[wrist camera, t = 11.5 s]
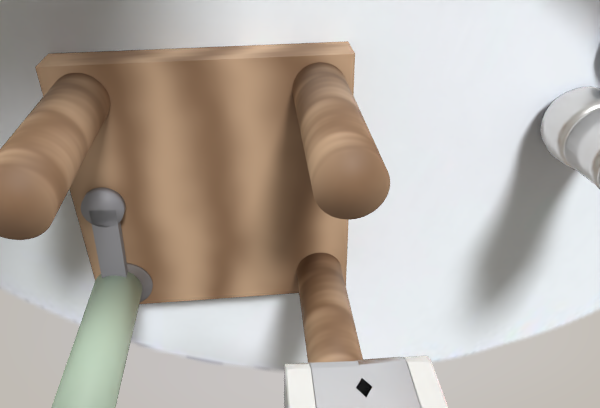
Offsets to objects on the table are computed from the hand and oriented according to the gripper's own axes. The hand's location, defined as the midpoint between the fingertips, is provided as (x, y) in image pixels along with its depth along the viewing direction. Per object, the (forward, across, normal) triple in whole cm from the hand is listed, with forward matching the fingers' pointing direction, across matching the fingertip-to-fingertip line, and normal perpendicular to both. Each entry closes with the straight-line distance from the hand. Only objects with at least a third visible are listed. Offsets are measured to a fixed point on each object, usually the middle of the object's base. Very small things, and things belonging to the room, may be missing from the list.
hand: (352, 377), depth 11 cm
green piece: (+29, +14, +20) cm, 38 cm away
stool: (+33, +5, +15) cm, 36 cm away
